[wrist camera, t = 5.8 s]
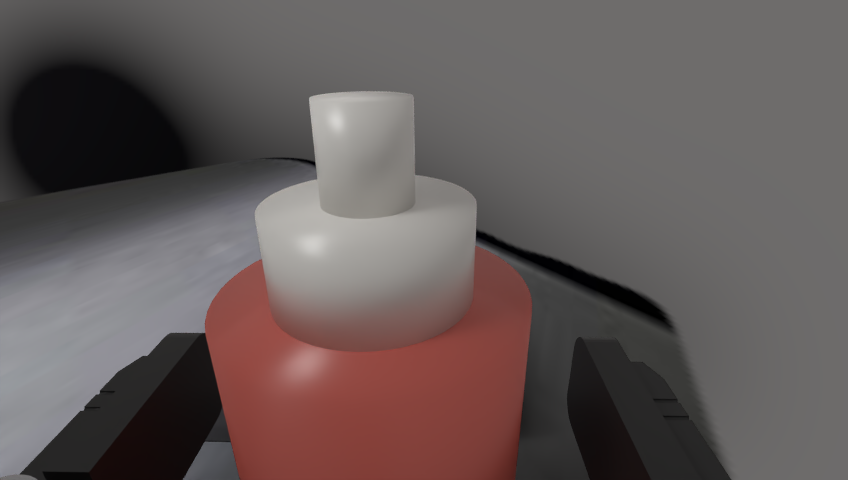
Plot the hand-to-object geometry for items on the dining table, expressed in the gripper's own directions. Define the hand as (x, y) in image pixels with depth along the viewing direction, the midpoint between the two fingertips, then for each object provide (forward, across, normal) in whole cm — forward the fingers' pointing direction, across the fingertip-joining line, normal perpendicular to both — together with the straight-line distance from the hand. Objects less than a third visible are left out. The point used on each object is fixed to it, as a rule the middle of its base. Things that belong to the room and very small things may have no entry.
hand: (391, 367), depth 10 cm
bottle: (-2, 0, +8) cm, 8 cm away
